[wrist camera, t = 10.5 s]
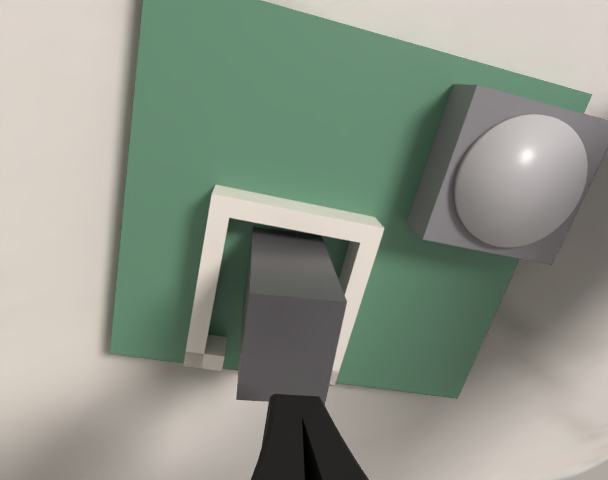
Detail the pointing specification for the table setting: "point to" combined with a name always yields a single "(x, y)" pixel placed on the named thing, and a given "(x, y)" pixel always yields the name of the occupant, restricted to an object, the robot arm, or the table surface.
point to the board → (337, 185)
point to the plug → (289, 317)
